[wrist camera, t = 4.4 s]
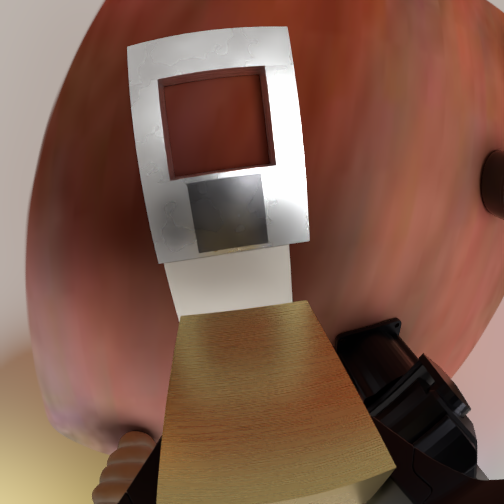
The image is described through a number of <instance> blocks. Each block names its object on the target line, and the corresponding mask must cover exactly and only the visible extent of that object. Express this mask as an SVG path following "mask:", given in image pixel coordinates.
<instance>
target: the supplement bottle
mask: <svg viewBox="0 0 504 504" xmlns="http://www.w3.org/2000/svg"><path fill="white" fill-rule="evenodd" d="M482 197H483V201H484V204H485V206H486V208H487V210H488V211H489V212H490V213H491V214H492V215H494V216H496V217H499V218H501V219H503V220H504V151H501V150H498V151H495V152H493V153H492V154H491V155H490V156H489V157H488V159H487V161H486V163H485V166H484V169H483V174H482Z"/></svg>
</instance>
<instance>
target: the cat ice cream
mask: <svg viewBox="0 0 504 504" xmlns="http://www.w3.org/2000/svg"><path fill="white" fill-rule="evenodd" d="M155 446H156V444H155V442H154V440H153V439H152V438H151V437H150V436H149V435H148V434H146V433H143V432H140V431H131V432H128V433H126V434H125V435H123V436H122V438H121V439H120V441H119V444H118V448H117V450H116V451H115V452H113V453H112V454H111V455H110V456H109V458H108V461H107V467H105V468H104V470H103V471H102V473H101V476H100V484H99V485H98V486H97V487H96V488H95V489H94V490H93V493H92V499H93V502H94V504H117V503H118V502H119V501H120V499H121V498H122V496H123V495H124V493H125V492H126V490H127V489H128V487H129V486H130V484H131V483H132V481H133V480H134V478H135V477H136V475H137V474H138V472H139V471H140V469H141V467H142V466H143V464H144V463H145V461H146V460H147V458H148V457H149V455H150V454H151V452H152V450H153V449H154V447H155Z"/></svg>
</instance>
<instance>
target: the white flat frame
mask: <svg viewBox="0 0 504 504" xmlns="http://www.w3.org/2000/svg"><path fill="white" fill-rule="evenodd" d="M127 55H128V74H129V88H130V100H131V110H132V120H133V128H134V136H135V144H136V151H137V158H138V164H139V171H140V177H141V183H142V188H143V194H144V199H145V204H146V209H147V214H148V219H149V224H150V229H151V233H152V238H153V242H154V247H155V251H156V255H157V259H158V263H159V264H161V263H167V262H174V261H180V260H187V259H193V258H200V257H206V256H213V255H220V254H226V253H233V252H240V251H246V250H253V249H259V248H266V247H273V246H279V245H286V244H293V243H299V242H306V241H310V239H309V219H308V202H307V187H306V174H305V162H304V150H303V140H302V130H301V121H300V112H299V103H298V95H297V87H296V80H295V73H294V66H293V59H292V52H291V46H290V40H289V34H288V28H287V27H243V28H228V29H218V30H209V31H201V32H194V33H187V34H181V35H176V36H171V37H165V38H161V39H156V40H152V41H148V42H143V43H140V44H136V45H132V46H128V47H127ZM255 74H259V76H260V84H261V92H262V100H263V108H264V117H265V125H266V134H267V143H268V152H269V162H270V164H263V165H255V166H246V167H238V168H231V169H223V170H216V171H210V172H203V173H197V174H191V175H185V176H179V177H175V174H174V167H173V160H172V153H171V146H170V139H169V131H168V123H167V114H166V105H165V96H164V87H165V86H170V85H175V84H180V83H186V82H192V81H199V80H206V79H213V78H221V77H231V76H241V75H255Z"/></svg>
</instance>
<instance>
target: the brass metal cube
mask: <svg viewBox="0 0 504 504" xmlns="http://www.w3.org/2000/svg"><path fill="white" fill-rule="evenodd" d="M395 468H396V465H395V463H394V461H393V459H392V457H391V455H390V453H389V451H388V450H387V448H386V446H385V444H384V442H383V440H382V438H381V436H380V434H379V432H378V430H377V428H376V426H375V424H374V422H373V421H372V419H371V417H370V415H369V413H368V411H367V409H366V407H365V405H364V403H363V402H362V400H361V398H360V396H359V394H358V392H357V390H356V388H355V387H354V385H353V383H352V381H351V379H350V377H349V375H348V374H347V372H346V370H345V368H344V366H343V364H342V363H341V361H340V359H339V357H338V355H337V354H336V352H335V350H334V348H333V346H332V344H331V343H330V341H329V339H328V337H327V335H326V334H325V332H324V330H323V328H322V326H321V325H320V323H319V321H318V319H317V318H316V316H315V314H314V312H313V310H312V309H311V307H310V305H309V303H308V302H307V300H304V301H297V302H291V303H284V304H277V305H270V306H263V307H255V308H247V309H239V310H231V311H223V312H214V313H204V314H195V315H184V316H181V317H180V322H179V327H178V333H177V338H176V344H175V350H174V356H173V362H172V368H171V375H170V381H169V388H168V395H167V402H166V410H165V417H164V425H163V434H162V443H161V452H160V463H159V474H158V487H157V501H156V504H366V503H367V502H368V501H369V500H370V499H371V497H372V496H373V495H374V494H375V493H376V492H377V491H378V489H379V488H380V487H381V486H382V485H383V484H384V482H385V481H386V480H387V479H388V477H389V476H390V475H391V474H392V472H393V471H394V470H395Z"/></svg>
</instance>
